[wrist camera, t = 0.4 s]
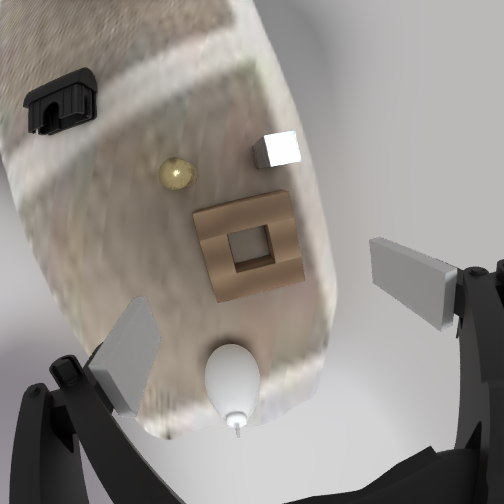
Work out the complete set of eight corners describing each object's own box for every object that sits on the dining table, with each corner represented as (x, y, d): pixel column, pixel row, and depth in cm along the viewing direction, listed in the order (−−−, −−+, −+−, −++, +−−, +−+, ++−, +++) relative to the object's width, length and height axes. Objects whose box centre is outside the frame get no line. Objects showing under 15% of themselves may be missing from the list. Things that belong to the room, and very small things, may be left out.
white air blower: (253, 369, 45) (271, 453, 28) (207, 371, 44) (207, 456, 27) (254, 331, 43) (275, 415, 25) (204, 332, 42) (199, 419, 25)
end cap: (99, 75, 30) (80, 60, 23) (100, 118, 32) (79, 108, 25) (46, 96, 29) (23, 87, 23) (46, 137, 31) (21, 133, 25)
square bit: (252, 146, 36) (264, 135, 26) (275, 142, 36) (294, 130, 26) (257, 169, 36) (271, 166, 27) (280, 164, 37) (301, 160, 27)
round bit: (171, 166, 35) (155, 162, 25) (194, 159, 35) (186, 153, 26) (177, 189, 36) (162, 193, 26) (200, 182, 36) (193, 184, 26)
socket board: (195, 210, 37) (192, 214, 33) (281, 189, 38) (288, 191, 34) (217, 291, 40) (217, 303, 36) (297, 270, 41) (305, 280, 37)
